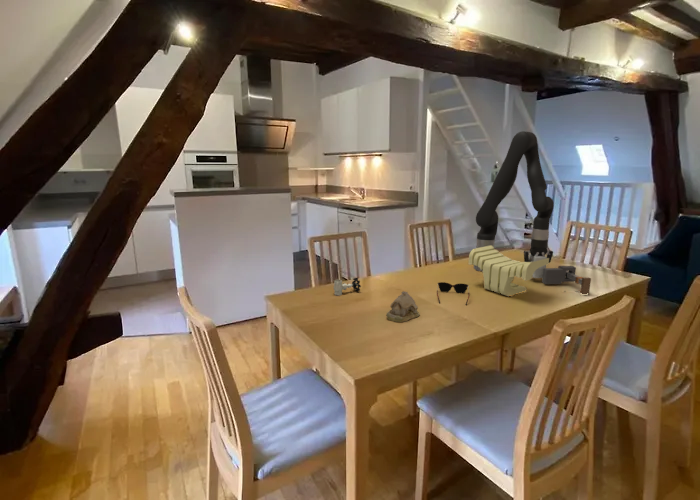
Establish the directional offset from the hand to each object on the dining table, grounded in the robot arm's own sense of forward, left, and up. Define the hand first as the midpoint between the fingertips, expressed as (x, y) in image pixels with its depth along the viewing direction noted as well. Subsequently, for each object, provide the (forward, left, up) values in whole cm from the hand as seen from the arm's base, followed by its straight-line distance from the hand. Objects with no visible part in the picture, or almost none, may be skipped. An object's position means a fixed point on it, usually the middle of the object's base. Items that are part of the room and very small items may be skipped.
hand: (536, 270), depth 197 cm
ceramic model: (-73, -41, -5) cm, 84 cm away
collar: (+7, -7, -4) cm, 11 cm away
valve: (-95, -13, -5) cm, 96 cm away
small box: (0, 0, -3) cm, 3 cm away
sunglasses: (-48, -23, -6) cm, 54 cm away
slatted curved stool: (-22, -14, -5) cm, 26 cm away
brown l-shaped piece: (+8, -12, -5) cm, 16 cm away
